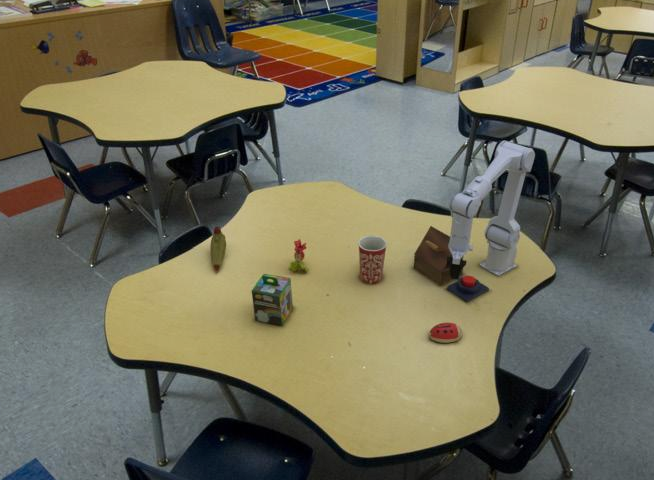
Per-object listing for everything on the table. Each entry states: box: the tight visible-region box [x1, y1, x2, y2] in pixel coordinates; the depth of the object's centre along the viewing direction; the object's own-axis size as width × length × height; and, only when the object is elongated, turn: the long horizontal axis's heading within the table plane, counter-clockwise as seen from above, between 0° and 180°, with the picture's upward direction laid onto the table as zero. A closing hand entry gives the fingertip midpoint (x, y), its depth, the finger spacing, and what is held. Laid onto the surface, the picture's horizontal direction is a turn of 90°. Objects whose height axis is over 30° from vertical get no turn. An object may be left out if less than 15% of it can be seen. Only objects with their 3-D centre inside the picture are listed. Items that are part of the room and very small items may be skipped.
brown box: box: [412, 255, 464, 286], centre depth 193 cm, size 10×12×5 cm
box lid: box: [413, 225, 452, 272], centre depth 187 cm, size 11×12×4 cm
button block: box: [446, 276, 490, 303], centre depth 184 cm, size 10×8×3 cm
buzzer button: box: [462, 275, 477, 287], centre depth 183 cm, size 4×4×2 cm
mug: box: [357, 235, 388, 285], centre depth 190 cm, size 13×9×14 cm
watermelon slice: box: [428, 322, 463, 344], centre depth 166 cm, size 7×10×4 cm
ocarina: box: [209, 226, 227, 272], centre depth 201 cm, size 20×5×10 cm, turn 4°
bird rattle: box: [288, 238, 308, 273], centre depth 195 cm, size 6×11×9 cm
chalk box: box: [251, 273, 294, 327], centre depth 173 cm, size 9×9×15 cm
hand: (455, 271), depth 176 cm, fingers open, 7 cm apart
